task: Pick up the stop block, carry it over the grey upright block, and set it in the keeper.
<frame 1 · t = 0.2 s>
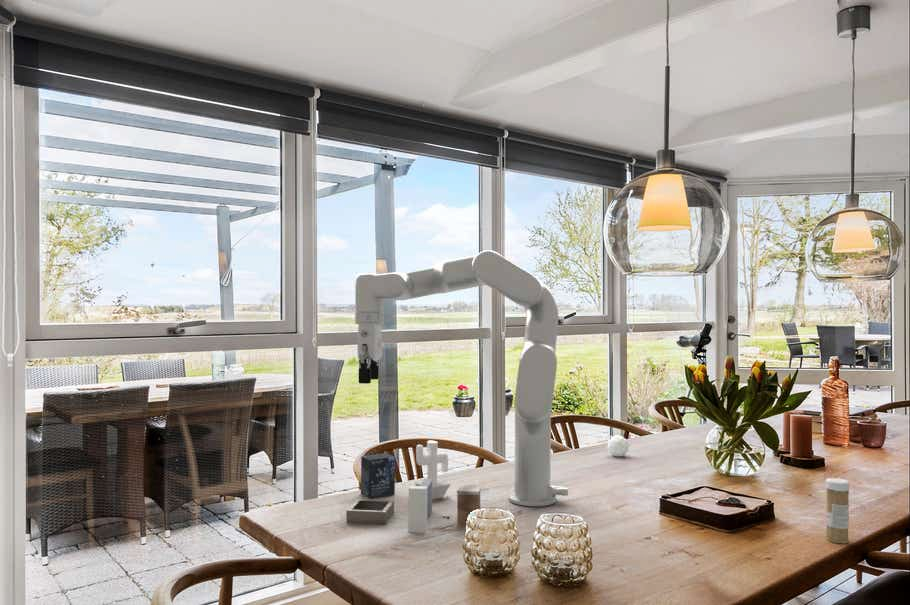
hand: (368, 381, 185), 31 cm above the table, fingers open, 9 cm apart
figurine: (432, 497, 183), on the table
sprinkles bottle: (837, 541, 150), on the table
stop block: (468, 522, 162), on the table
grey upright block: (423, 520, 163), on the table
box: (377, 495, 185), on the table
keeper: (370, 517, 165), on the table
ornament: (618, 456, 233), on the table
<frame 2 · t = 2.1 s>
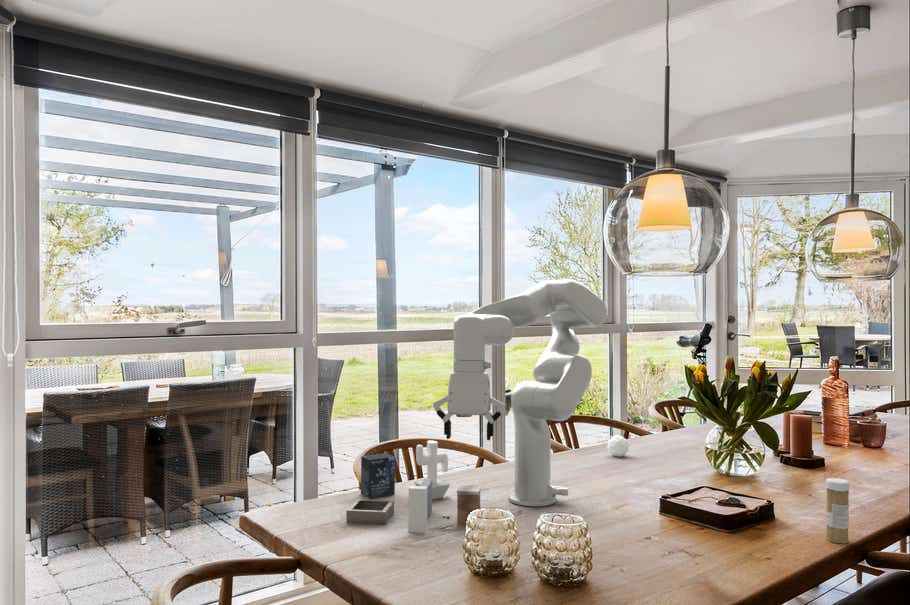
hand: (468, 438, 162), 20 cm above the table, fingers open, 9 cm apart
nothing on the table moved.
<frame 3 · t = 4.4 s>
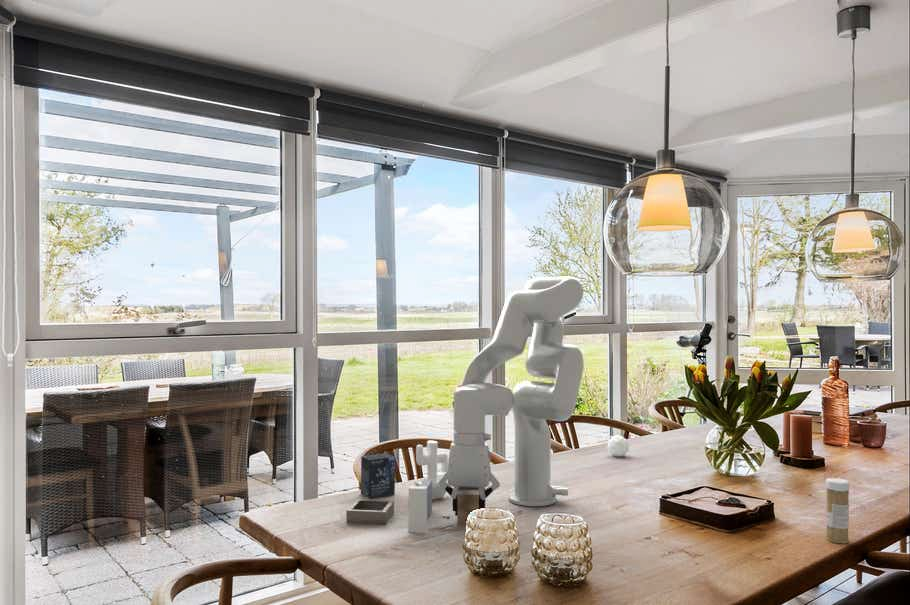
hand: (468, 513, 162), 2 cm above the table, fingers closed on stop block, 5 cm apart
stop block: (468, 522, 162), on the table, touching gripper
everything else where it was.
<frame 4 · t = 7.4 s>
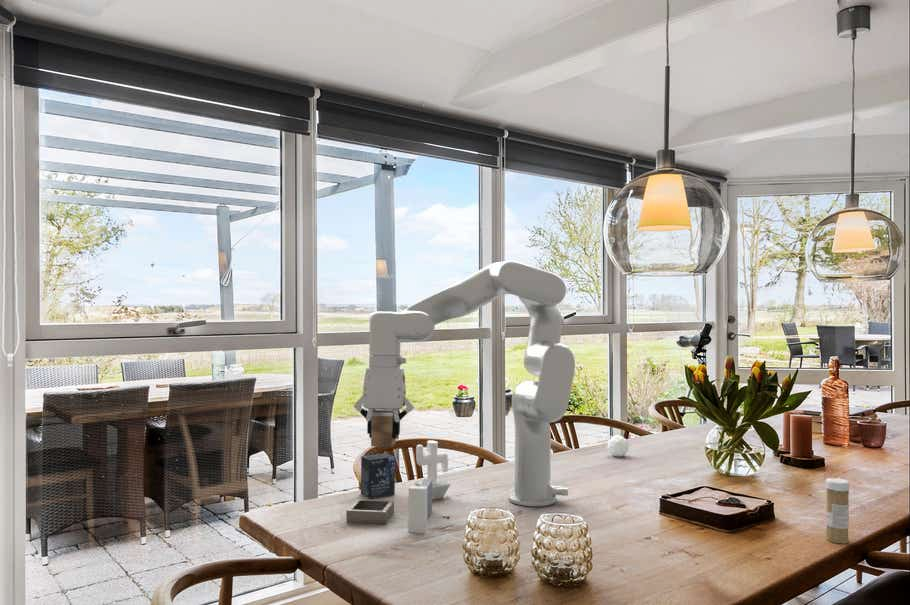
hand: (383, 436, 165), 20 cm above the table, fingers closed on stop block, 5 cm apart
stop block: (383, 444, 164), point 18 cm above the table, touching gripper
everything else where it was.
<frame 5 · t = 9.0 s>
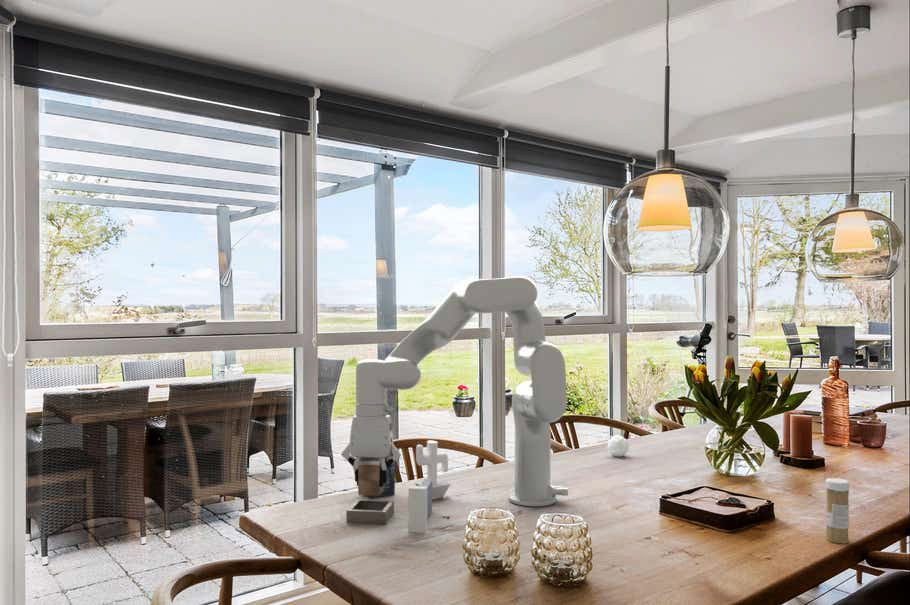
hand: (371, 484, 165), 8 cm above the table, fingers closed on stop block, 5 cm apart
stop block: (370, 492, 165), point 6 cm above the table, touching gripper
everything else where it was.
when the fingers open (3 cm above the table, at t = 10.4 s): stop block drops 1 cm, resting in keeper.
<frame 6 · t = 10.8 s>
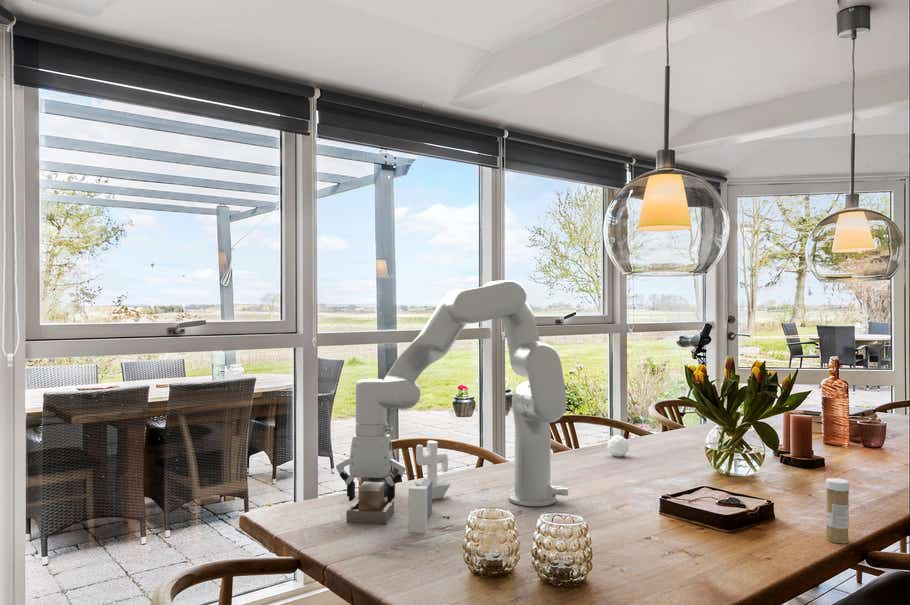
hand: (370, 500, 165), 4 cm above the table, fingers open, 9 cm apart
stop block: (371, 518, 165), resting in keeper
everything else where it was.
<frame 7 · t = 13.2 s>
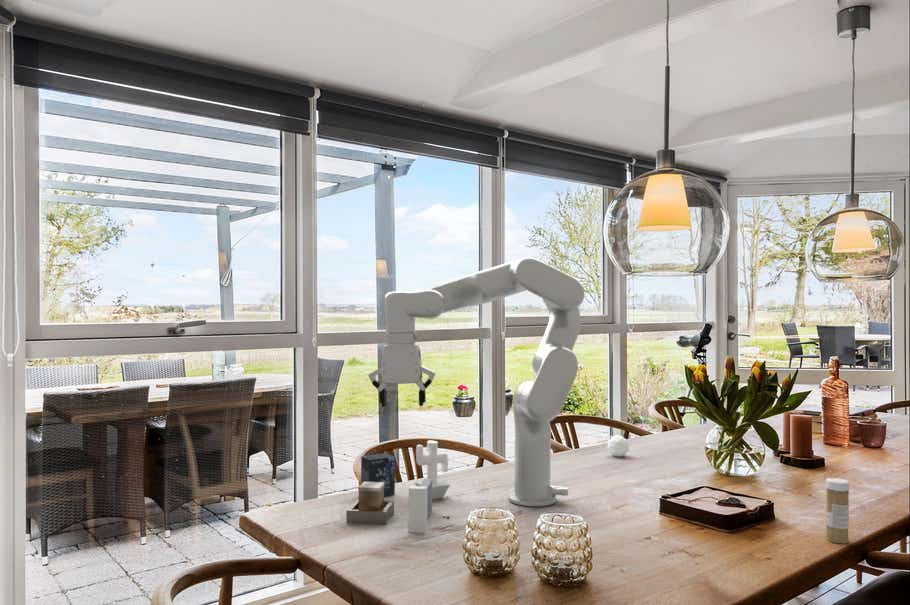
hand: (402, 405, 174), 26 cm above the table, fingers open, 9 cm apart
nothing on the table moved.
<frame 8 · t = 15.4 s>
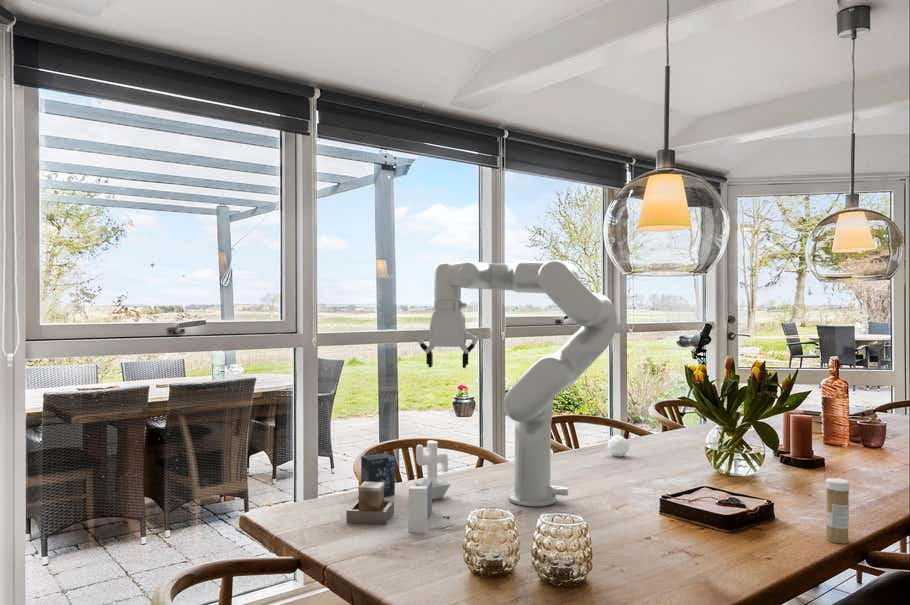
hand: (447, 367, 191), 34 cm above the table, fingers open, 9 cm apart
nothing on the table moved.
at the end: stop block 0.1 cm off-centre on the keeper, point 0.0 cm above the keeper's base; stop block tilted 0°; the gripper is holding nothing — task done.
